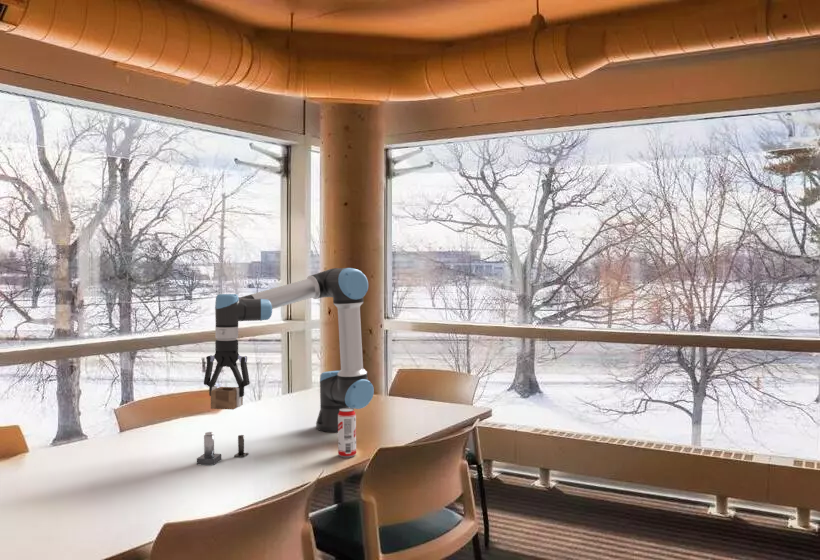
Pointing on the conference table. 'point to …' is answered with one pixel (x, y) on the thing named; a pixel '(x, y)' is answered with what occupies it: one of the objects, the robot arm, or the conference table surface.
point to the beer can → (346, 432)
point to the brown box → (224, 398)
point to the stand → (241, 447)
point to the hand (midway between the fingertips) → (226, 405)
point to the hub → (209, 451)
